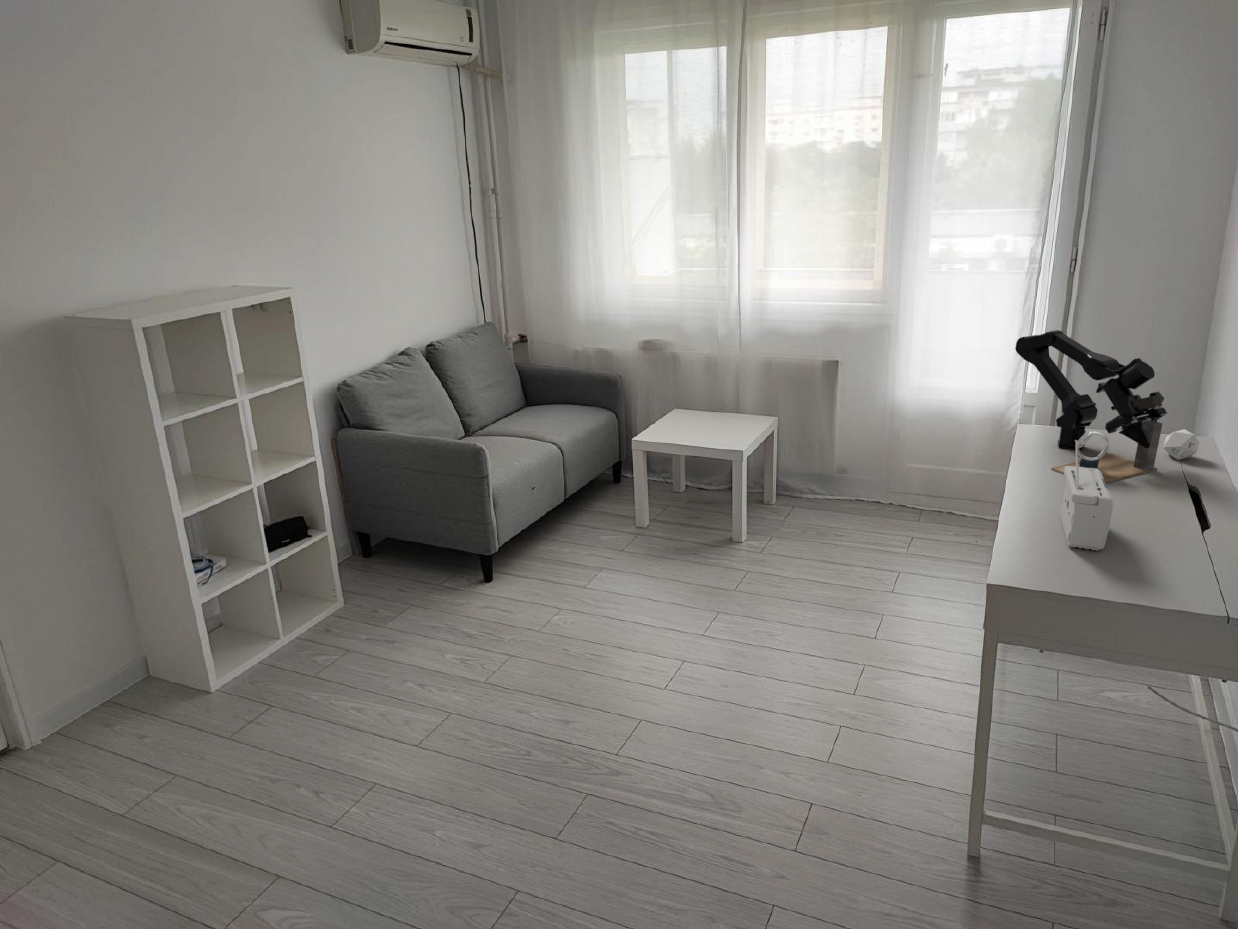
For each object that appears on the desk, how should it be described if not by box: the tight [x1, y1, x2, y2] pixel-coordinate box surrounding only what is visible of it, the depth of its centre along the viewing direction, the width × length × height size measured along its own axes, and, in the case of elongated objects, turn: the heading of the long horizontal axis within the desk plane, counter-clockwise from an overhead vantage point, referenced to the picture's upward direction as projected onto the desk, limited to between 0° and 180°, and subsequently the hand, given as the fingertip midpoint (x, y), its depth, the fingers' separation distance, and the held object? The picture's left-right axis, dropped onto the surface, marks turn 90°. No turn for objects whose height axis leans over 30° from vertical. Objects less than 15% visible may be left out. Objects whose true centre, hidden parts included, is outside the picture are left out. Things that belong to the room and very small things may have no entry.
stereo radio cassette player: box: [1060, 440, 1114, 551], centre depth 204 cm, size 21×8×20 cm, turn 160°
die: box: [1162, 428, 1200, 461], centre depth 254 cm, size 8×9×10 cm
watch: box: [1075, 430, 1110, 469], centre depth 243 cm, size 6×8×11 cm
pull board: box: [1050, 420, 1163, 484], centre depth 244 cm, size 14×25×14 cm, turn 117°
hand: (1152, 446), depth 243 cm, fingers closed on pull board, 3 cm apart
